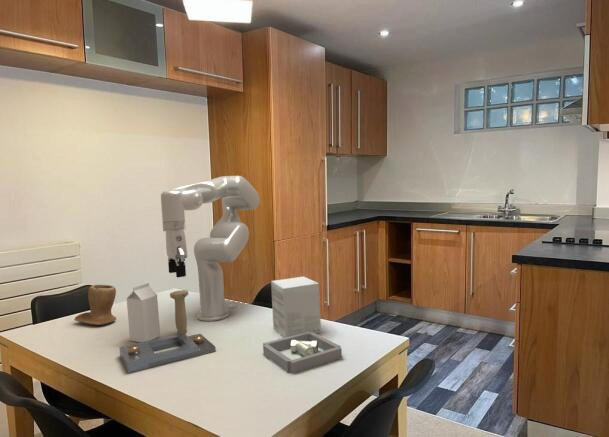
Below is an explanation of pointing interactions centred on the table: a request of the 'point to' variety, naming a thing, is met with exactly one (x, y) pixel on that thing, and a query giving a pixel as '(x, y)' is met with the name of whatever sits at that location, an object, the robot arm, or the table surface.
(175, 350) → the upper end link
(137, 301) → the milk carton
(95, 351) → the table surface
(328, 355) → the parts fence
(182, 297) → the handle
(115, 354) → the table surface
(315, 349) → the pipe fitting
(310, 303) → the supplement box
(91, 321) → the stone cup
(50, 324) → the table surface
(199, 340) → the lower end link
